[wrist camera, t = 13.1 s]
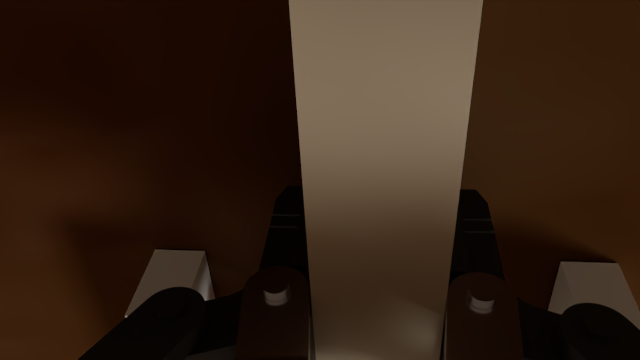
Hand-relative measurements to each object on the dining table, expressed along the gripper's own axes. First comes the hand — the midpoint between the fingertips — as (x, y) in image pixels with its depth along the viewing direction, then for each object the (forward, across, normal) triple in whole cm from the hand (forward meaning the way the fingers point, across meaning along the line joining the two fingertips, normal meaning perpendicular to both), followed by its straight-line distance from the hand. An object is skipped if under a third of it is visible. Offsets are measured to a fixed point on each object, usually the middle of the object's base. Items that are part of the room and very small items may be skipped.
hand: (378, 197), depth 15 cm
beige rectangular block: (+1, 0, -2) cm, 2 cm away
